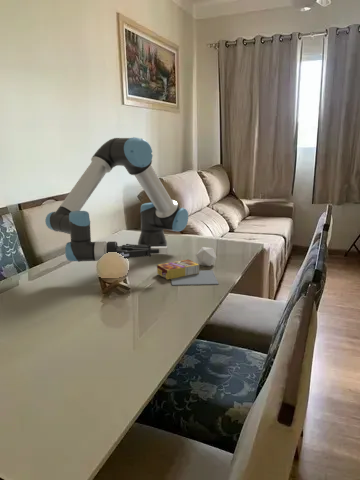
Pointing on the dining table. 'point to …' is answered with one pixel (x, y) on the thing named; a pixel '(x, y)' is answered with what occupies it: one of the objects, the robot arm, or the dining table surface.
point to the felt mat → (196, 279)
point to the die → (206, 256)
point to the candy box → (178, 269)
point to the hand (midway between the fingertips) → (167, 250)
